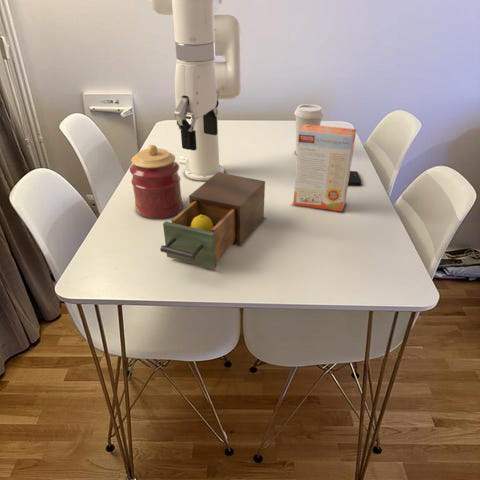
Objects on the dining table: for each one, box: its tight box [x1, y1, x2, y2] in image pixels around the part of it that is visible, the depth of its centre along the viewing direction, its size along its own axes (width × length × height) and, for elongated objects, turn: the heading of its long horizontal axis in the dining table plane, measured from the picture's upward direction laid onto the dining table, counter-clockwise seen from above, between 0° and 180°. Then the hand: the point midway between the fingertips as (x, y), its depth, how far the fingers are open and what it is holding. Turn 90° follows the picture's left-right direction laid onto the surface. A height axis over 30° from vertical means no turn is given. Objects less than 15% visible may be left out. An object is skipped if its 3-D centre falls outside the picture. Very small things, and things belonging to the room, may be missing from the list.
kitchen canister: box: [129, 144, 183, 219], centre depth 123 cm, size 13×13×18 cm
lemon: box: [191, 214, 214, 232], centre depth 108 cm, size 6×6×8 cm
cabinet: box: [188, 172, 266, 247], centre depth 118 cm, size 16×14×11 cm
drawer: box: [159, 200, 237, 270], centre depth 107 cm, size 20×12×9 cm, turn 156°
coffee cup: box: [294, 103, 324, 155], centre depth 156 cm, size 10×10×15 cm
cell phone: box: [348, 170, 362, 186], centre depth 144 cm, size 9×18×1 cm, turn 87°
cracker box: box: [293, 124, 357, 212], centre depth 124 cm, size 14×6×21 cm, turn 71°
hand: (200, 141), depth 100 cm, fingers open, 9 cm apart
